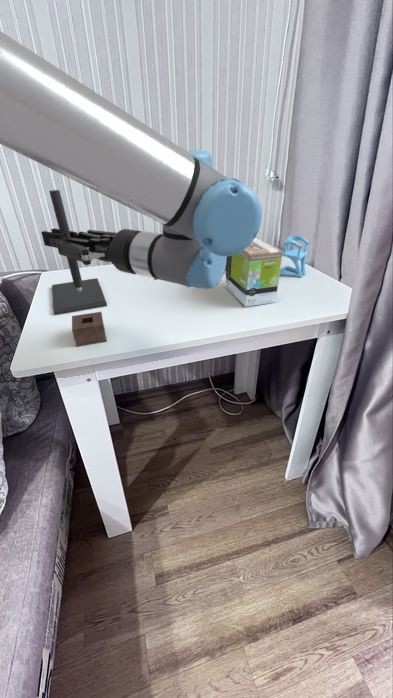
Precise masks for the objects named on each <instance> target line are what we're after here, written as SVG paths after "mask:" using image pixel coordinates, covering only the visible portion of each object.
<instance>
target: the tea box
mask: <svg viewBox="0 0 393 698" xmlns="http://www.w3.org/2000/svg"><path fill="white" fill-rule="evenodd" d="M283 252H284V250H282V249H280V248H279V247H277V246H274V245H273V244H271V243H269V242H267V241H265V240H263V239H261V238H260V237H257V236H256V237H255V239H254V240H253V242H252V243H251V244H250V245H249V246H248V247H247V248H246V249H245V250H243V251H242V252H240V253H238V254H235V255H232V256H226V270H225V278H224V279H225V280H224V281H225V282H224V283H225V284H224V287H225V288H226V289H227V290H228V291H229V292H230V294H231V295H232V296H234V297H235V298H236V300H237V301H239V303H240V304H242V305H243V306H244V307H254V306H261V305H266V304H272V303H276V300H277V295H278V287H279V283H280V282H279V281H280V280H279V279H280V275H279V274H280V269H281V268H282V267H281V266H282V260H283V256H282V253H283Z"/></svg>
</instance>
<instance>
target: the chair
mask: <svg viewBox="0 0 393 698" xmlns="http://www.w3.org/2000/svg"><path fill="white" fill-rule="evenodd" d="M298 241H301V242H303V243H304V244H305V245H304V246H303V245H302V244H300V243H299V242H298ZM309 244H310V241H308V240H307V239H306V238H304V237H302V236H299V235H289V236H287V237H286V238H285V239H284V241H283V247H284V250H283V253H282V257H284V258H285V257H286V258H288V259H290V260H291V261H292V263H293V264H294V267H293V266H291V265H283V266H282V267H280V274H279V276H288V277H296V278H303V276H306V256H308V255H309V251H307V248H308V245H309ZM289 245H290V248H288V246H289ZM294 246H295V247H297V248H298V249H295V248H294ZM302 248H303V250H302ZM299 262H300V263H299ZM286 269H287V270H290V271H291V272H289V271H284V270H286Z"/></svg>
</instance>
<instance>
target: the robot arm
mask: <svg viewBox="0 0 393 698" xmlns="http://www.w3.org/2000/svg"><path fill="white" fill-rule="evenodd" d="M0 145H1V146H3V147H6V148H8V149H10V150H11V151H14V152H16V153H18V154H19V155H22V156H24V157H26V158H28V159H30V160H32V161H34V162H36V163H38V164H39V165H42V166H44V167H46V168H48V169H49V170H52V171H54V172H56V173H58V174H61V175H62V176H64V177H67V178H68V179H71V180H72V181H74V182H77V183H78V184H81V185H82V186H85V187H86V188H89V189H91V190H93V191H94V192H97V193H99V194H101V195H103V196H105V197H107V198H109V199H111V200H113V201H115V202H116V203H119V204H121V205H123V206H125V207H127V208H129V209H130V210H131V209H132V210H133V211H135V212H137V213H139V214H141V215H143V216H145V217H148V218H150V219H151V220H154V221H156V222H157V223H159V224H162V233H158V232H154V231H153V232H152V231H141V230H137V229H131V228H123V229H120V230H118V232H115V231H104V230H95V229H87V231H79V232H77V231H73V230H69V231H70V235H71V238H69V237H67V235H66V233H61V234H60V230H59V228H51V231H47V230H42V231H41V236H42V241H43V244H44V246H45V247H51V248H56V249H57V252H58V255H60V256H62V257H66V258H67V257H69V258H72V259H75V260H77V262H78V261H79V262H81V264H83V265H85V266H89V265H91V264H92V262H93V260H98V261H101V262H106V263H111V264H112V265H113V266H114V267H115V269H117V270H118V271H120V272H122V273H127V274H132V275H137V276H141V277H145V278H150V279H152V280H153V281H157V280H160V281H164V282H169V283H173V284H177V285H181V286H184V287H187V288H194V289H201V290H212V289H214V288H215V287H216V286H218V284H220V283H221V280H222V279H223V276H224V274H225V272H226V270H225V266H226V258H227V256H232V255H235V254H238V253H240V252H242V251H243V250H245V249H246V248H247V247H248V246H249V245H250V244H251V243H252V242H253V240H254V239H255V237H257V236H258V233H259V231H260V228H261V225H262V220H263V211H262V210H263V209H262V205H261V202H260V199H259V198H258V195H257V194H256V192H255V191H254V190H253V189H252V188H250V187H249V186H248V185H246V184H244V183H243V182H241V181H240V180H238V179H237V178H234V177H227V176H225V175H224V174H222V173H220V172H219V171H218V170H216V169H214V168H213V162H212V155H211V154H210V152H209V151H206V150H198V149H197V150H196V149H195V150H193V149H191V150H190V149H189V150H187V149H184V148H182V147H181V146H179V145H177V144H176V143H175V142H173V141H171V140H170V139H169V138H167V137H165V136H164V135H162V134H161V133H160V132H157V130H154V129H153V128H152V127H150V126H149V125H147V124H145V123H144V122H142V121H141V120H139V119H137V118H136V117H134V116H133V115H131V114H130V113H128V112H127V111H125V110H124V109H122V108H121V107H119V106H118V105H116V104H114V103H112V102H111V101H110V100H108V99H107V98H105V97H103V96H102V95H100V94H99V93H97V92H96V91H94V90H92V89H91V88H90V87H88V86H86V85H85V84H83V83H82V82H80V81H79V80H77V79H76V78H74V77H72V76H71V75H70V74H68V73H67V72H65V71H63V70H62V69H60V68H59V67H57V66H55V65H54V64H52V63H51V62H49V61H48V60H46V59H45V58H43V57H41V56H40V55H38V53H35V52H34V51H32V50H31V49H29V48H27V46H24V45H23V44H22V43H20V42H19V41H16V40H15V39H14V38H12V37H11V36H9V35H7V34H6V33H4V32H3V31H1V30H0Z"/></svg>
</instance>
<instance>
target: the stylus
mask: <svg viewBox="0 0 393 698" xmlns="http://www.w3.org/2000/svg"><path fill="white" fill-rule="evenodd" d="M49 196H50V199H51V204H52V207H53V211H54V214H55V219H56V223H57V225H58V229H59V230H60V234H61V233H66V235H67V237H69V238H71V235H70V231H71V230H70V227H69V223H68V219H67V214H66V211H65V207H64V203H63V199H62V195H61V191H60V189H52V190H49ZM66 260H67V264H68V267H69V272H70V274H71V279H72V282H73V283H74V287H75V288H77V290H78V291H79V292H81V290H82V286H83V283H82V280H83V279H82V275H81V271H80V267H79V263H78V260H75V259H72V258H69V257H66Z"/></svg>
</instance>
